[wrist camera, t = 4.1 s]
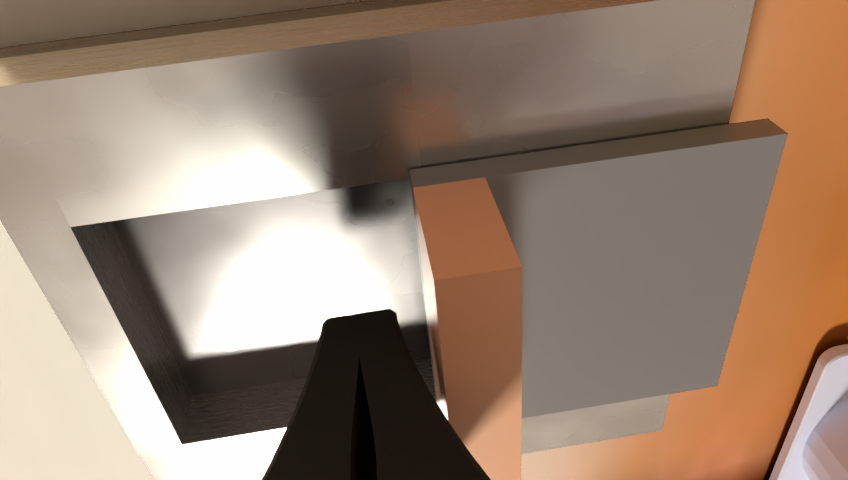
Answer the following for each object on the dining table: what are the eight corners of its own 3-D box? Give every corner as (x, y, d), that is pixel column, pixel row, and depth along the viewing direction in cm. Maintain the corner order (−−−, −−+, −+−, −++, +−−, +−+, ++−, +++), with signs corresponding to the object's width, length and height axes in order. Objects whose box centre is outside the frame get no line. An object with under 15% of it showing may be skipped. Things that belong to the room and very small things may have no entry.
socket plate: (696, -41, 11) (757, -14, 10) (631, 372, 18) (662, 430, 16) (-14, 49, 11) (-73, 95, 9) (186, 445, 17) (173, 512, 16)
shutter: (768, 118, 11) (890, 211, 9) (704, 366, 15) (777, 478, 12) (409, 169, 11) (433, 280, 8) (437, 410, 15) (459, 534, 12)
